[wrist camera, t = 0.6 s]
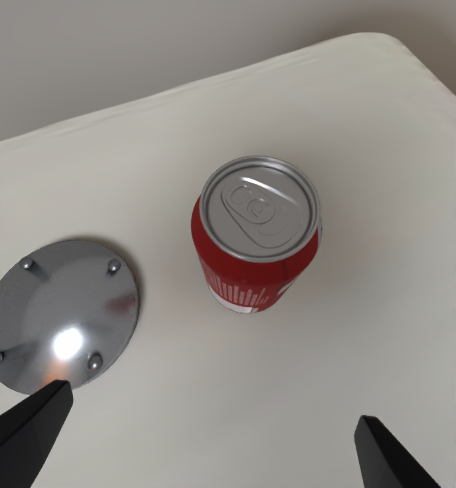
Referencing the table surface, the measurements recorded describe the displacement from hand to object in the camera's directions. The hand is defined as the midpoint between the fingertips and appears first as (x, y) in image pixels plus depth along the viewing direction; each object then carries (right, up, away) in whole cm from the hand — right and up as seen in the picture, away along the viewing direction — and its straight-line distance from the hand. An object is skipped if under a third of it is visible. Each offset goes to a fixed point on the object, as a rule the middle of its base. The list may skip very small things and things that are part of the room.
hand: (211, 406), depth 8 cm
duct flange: (-13, -1, +14) cm, 19 cm away
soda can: (+2, +2, +15) cm, 16 cm away
